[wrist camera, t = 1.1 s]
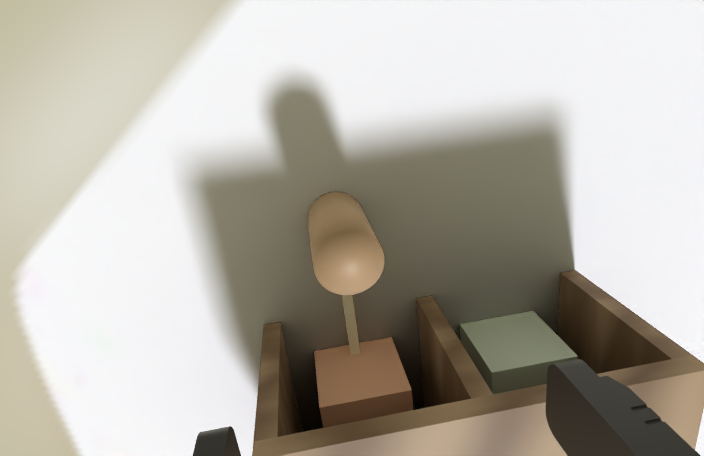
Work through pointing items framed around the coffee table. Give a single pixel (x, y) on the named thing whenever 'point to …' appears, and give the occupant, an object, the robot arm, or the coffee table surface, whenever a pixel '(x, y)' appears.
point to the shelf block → (513, 350)
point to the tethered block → (352, 317)
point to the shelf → (476, 397)
